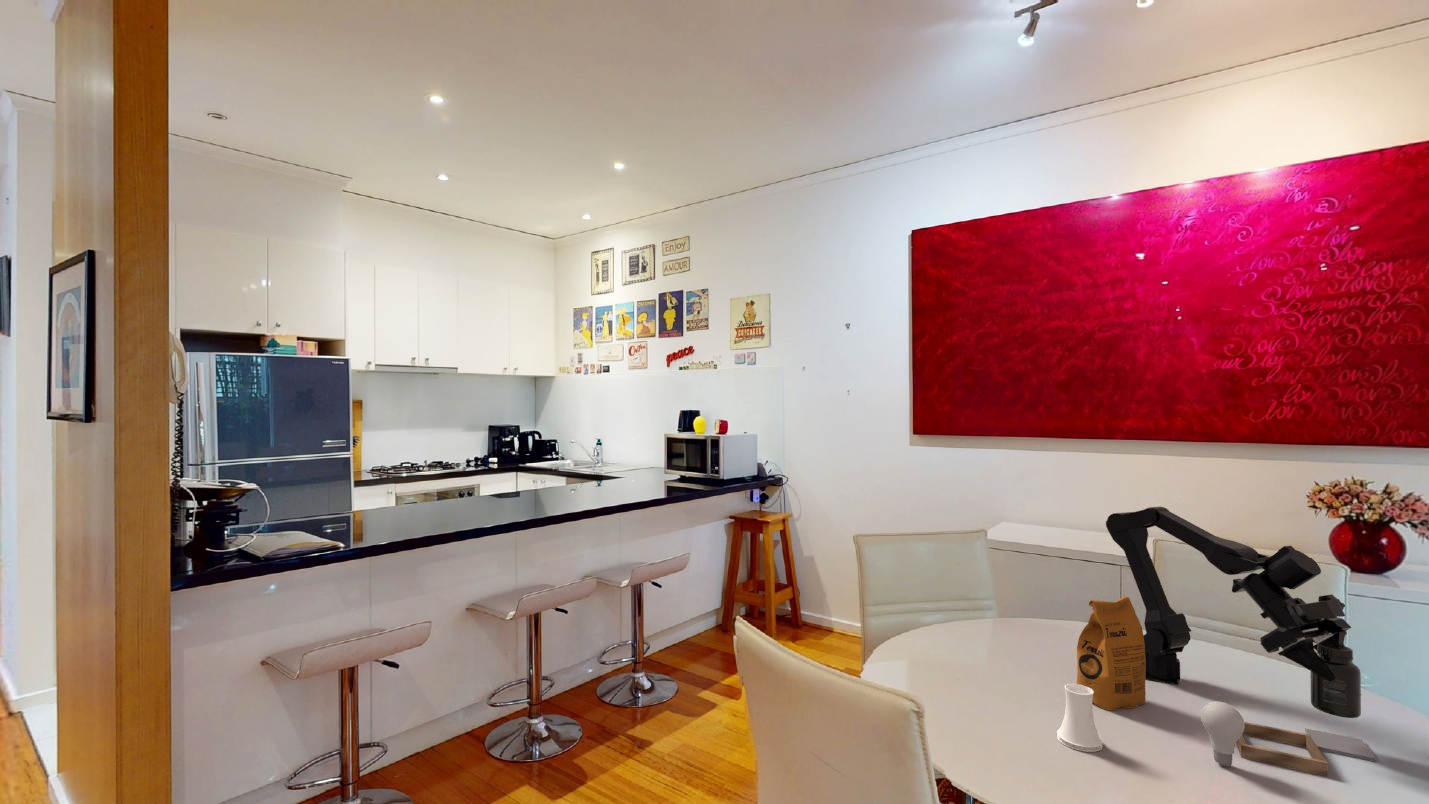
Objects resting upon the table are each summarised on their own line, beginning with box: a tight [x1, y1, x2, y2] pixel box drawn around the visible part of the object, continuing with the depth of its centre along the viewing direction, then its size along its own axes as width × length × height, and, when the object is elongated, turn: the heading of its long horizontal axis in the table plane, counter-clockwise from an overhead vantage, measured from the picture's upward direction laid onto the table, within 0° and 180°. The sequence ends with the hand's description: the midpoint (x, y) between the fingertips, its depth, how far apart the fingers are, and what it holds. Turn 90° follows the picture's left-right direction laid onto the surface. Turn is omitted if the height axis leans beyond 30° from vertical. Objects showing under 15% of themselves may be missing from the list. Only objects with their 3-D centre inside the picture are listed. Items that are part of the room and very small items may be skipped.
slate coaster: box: [1304, 727, 1377, 762], centre depth 120 cm, size 8×8×1 cm
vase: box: [1056, 683, 1104, 753], centre depth 121 cm, size 8×8×10 cm
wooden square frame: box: [1235, 721, 1329, 777], centre depth 118 cm, size 12×12×2 cm
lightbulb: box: [1200, 701, 1245, 767], centre depth 113 cm, size 6×6×11 cm
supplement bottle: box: [1309, 642, 1362, 719], centre depth 120 cm, size 7×7×12 cm
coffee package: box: [1076, 595, 1147, 711], centre depth 139 cm, size 10×12×22 cm
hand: (1344, 677), depth 119 cm, fingers closed on supplement bottle, 7 cm apart
